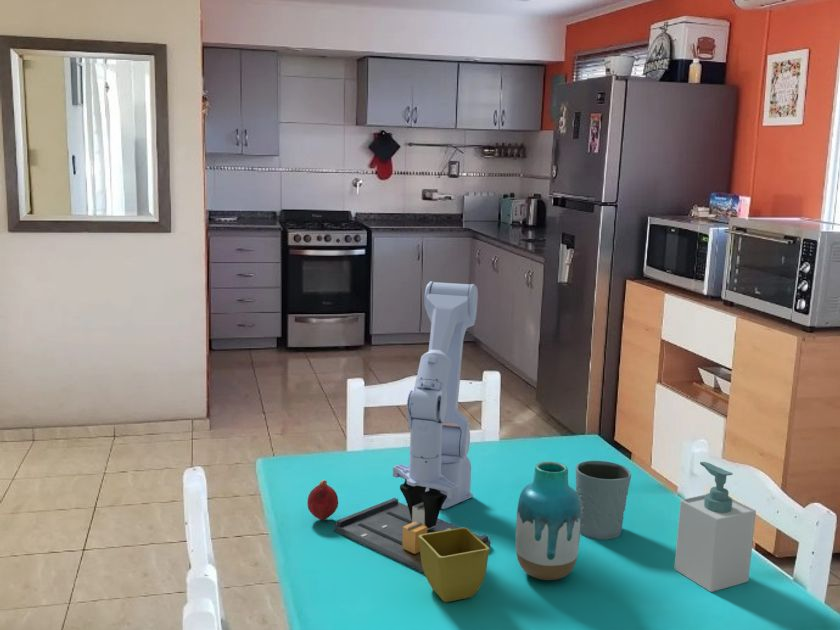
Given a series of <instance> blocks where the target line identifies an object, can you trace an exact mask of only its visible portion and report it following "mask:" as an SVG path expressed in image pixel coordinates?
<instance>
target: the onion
mask: <svg viewBox="0 0 840 630" xmlns="http://www.w3.org/2000/svg"><path fill="white" fill-rule="evenodd" d="M338 507H339V497H338V494H337V492H336V490H335V489H334V488H333V487H331V486H330V485H329V484H328V481H327V480H326V479H322V480H321V481H320V482H319V484H318V485H316V486H315V487H314V488H312V490H310V493H309V494H308V497H307V509H308V511H309V512H310V513H311V515H312V516H314V517H315V518H316V519H318V520H320V521H326V520H327V519H328V518H330V517H331V516H333V514H335V512H336V510H337V509H338Z"/></svg>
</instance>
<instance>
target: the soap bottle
mask: <svg viewBox="0 0 840 630" xmlns="http://www.w3.org/2000/svg"><path fill="white" fill-rule="evenodd" d="M699 464H700V465H701V466H702V467H703V468H705V470H706V471H707V472H708V473H709V474H710V475H711V476H712V477H713V476H714V482H715V486H712V487H711V488H710V490H709V492H708V493H706V494H703V495H698V496H692V497H688V498H683V499H680V502H679V503H680V504H679V516H678V523H677V524H678V526H677V537H676V547H675V548H676V549H675V557H674V558H675V560H674V567H673V568H674V571H676V572H678V573H680V574H682V576H684V577H686V578H687V579H689V580H690V581H693V582H694V583H695V584H698V585H699V586H700V587H702V588H703V589H705V590H707V591H709V592H710V593H713V592H717V591H720V590H723V589H726V588H730V587H734V586H737V585H741V584H744V583H748V582H749V578H750V569H751V560H752V550H753V543H754V535H755V534H754V533H755V524H756V515H757V510H755V509H753V508H751V507H750V506H747V505H745V504H743V503H741V502H739V501H737V500H735V499H733V498H731V496H730V495H729V493H730V492H729V490H728V489H727V488H725V487H724V486H725V484H726V483H727V476H732V475H734V473H733V472H731V471H727V470H726V469H723V468H721V467H718V466H716V465H715V464H712V463H711V462H706V461H700V462H699Z"/></svg>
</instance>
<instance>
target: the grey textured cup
mask: <svg viewBox="0 0 840 630" xmlns="http://www.w3.org/2000/svg"><path fill="white" fill-rule="evenodd" d="M631 478H632V472H631V470H630V469H629V468H627V467H626V466H624V465H622V464H619V463H615V462H613V461H606V460H586V461H582V462H579V463H578V464H576V465H575V491H576V492H577V494H578V496H579V499H580V507H581V527H580V535H582V536H583V537H586V538H589V539H594V540H600V541H601V540H603V541H604V540H605V541H606V540H612V539H617V538H618V537H620V536H621V533H622V531H623V529H622V528H623V522H624V512H625V511H626V505H627V497H628V493H629V487H630V484H631Z"/></svg>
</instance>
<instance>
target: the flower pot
mask: <svg viewBox="0 0 840 630" xmlns="http://www.w3.org/2000/svg"><path fill="white" fill-rule="evenodd" d="M473 533H474V532H472V531H471V530H470V529H469V528H467V527H466V526H463V527H460V528H456V529H450V530H445V531H439V532H433V533H427V534H421V535H419V544H420V554H421V562H422V567H423V570H424V573H425V574H424V573H423V574H424V575H425V578H426V579H427V583H428V584H429V585H430V587H431V589H432V590H433V592H434V593H436V594H437V596H438V597H439V598H440V599H441V600H442V601H443V602H444V603H450V602H454V601H458V600H463V599H469V598H472V597H474V595H475V594H477V592H478V591H479V590H480V588H481V586H482V584H483V582H484V580H485V576H486V571H487V566H488V562H489V561H488V560H489V554H490V547H488V546H487V545H486V544H484V543H483V542H482V541H481V540H480V539H478V538H477V537H476V536H475V535H474V534H473Z"/></svg>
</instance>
